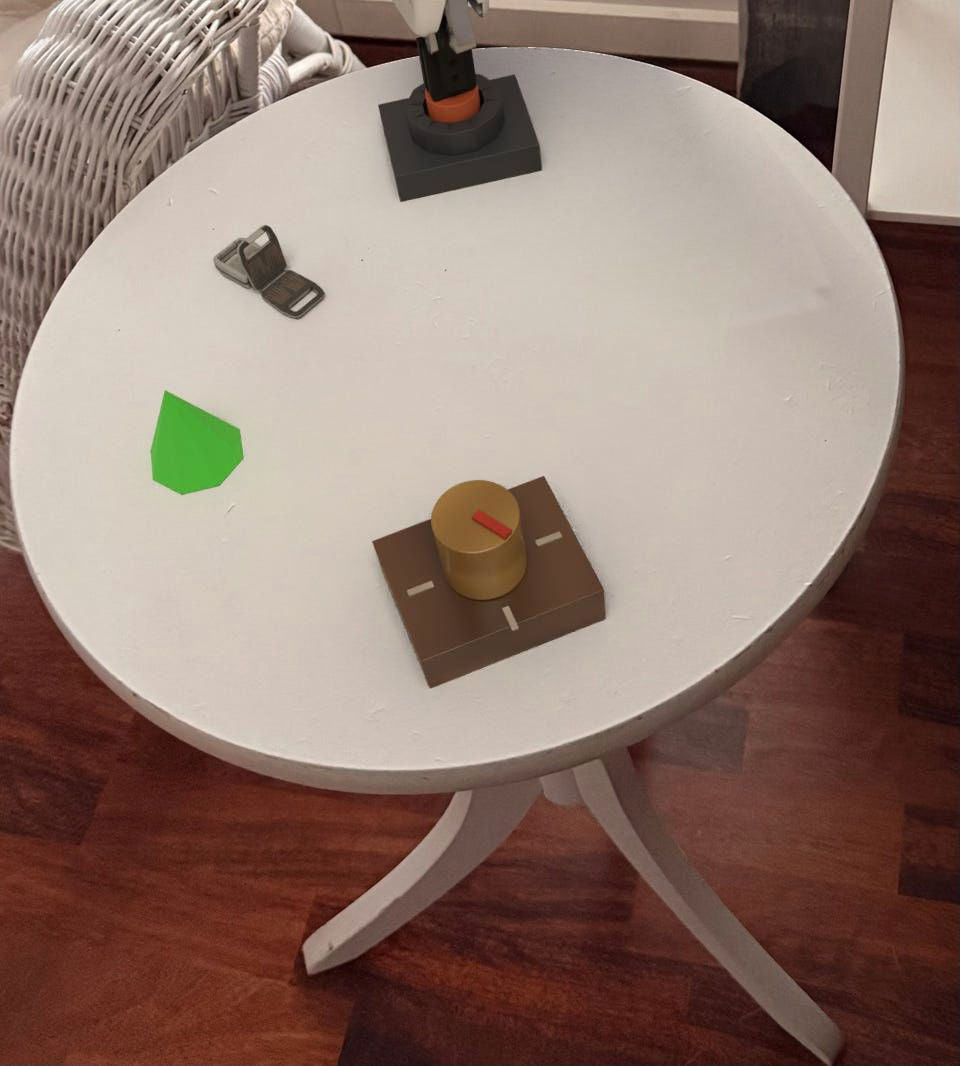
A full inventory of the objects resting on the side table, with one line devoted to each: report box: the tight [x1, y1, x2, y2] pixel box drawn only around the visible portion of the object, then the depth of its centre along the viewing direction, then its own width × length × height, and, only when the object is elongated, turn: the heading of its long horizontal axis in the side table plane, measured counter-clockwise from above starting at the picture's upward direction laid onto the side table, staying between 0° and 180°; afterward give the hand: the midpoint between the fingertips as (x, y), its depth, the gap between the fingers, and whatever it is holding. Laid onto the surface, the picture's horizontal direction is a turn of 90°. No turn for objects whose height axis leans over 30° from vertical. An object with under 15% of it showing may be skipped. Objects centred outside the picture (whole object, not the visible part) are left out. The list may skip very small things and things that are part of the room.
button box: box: [377, 73, 543, 202], centre depth 86 cm, size 10×8×4 cm
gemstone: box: [150, 389, 244, 495], centre depth 73 cm, size 6×6×6 cm
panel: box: [371, 475, 607, 689], centre depth 66 cm, size 10×9×3 cm
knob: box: [430, 479, 527, 600], centre depth 63 cm, size 4×4×5 cm
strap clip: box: [212, 224, 325, 319], centre depth 81 cm, size 8×3×4 cm, turn 48°
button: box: [425, 84, 481, 123], centre depth 85 cm, size 4×4×2 cm
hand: (451, 88), depth 84 cm, fingers closed
